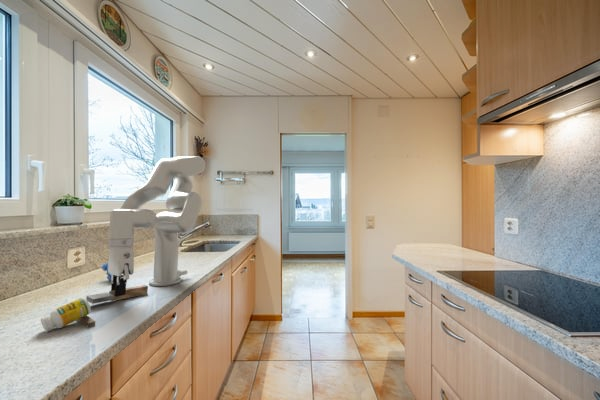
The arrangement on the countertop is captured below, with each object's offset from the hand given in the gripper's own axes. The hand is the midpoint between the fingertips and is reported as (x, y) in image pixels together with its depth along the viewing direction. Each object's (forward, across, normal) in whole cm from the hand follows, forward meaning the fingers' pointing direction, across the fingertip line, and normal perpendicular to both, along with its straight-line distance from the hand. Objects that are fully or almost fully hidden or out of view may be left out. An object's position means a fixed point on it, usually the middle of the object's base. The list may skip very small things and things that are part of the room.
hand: (118, 294), depth 92 cm
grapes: (+2, +31, -9) cm, 33 cm away
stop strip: (+2, -12, +13) cm, 18 cm away
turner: (+2, 0, 0) cm, 2 cm away
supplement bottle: (-2, -11, +12) cm, 16 cm away
